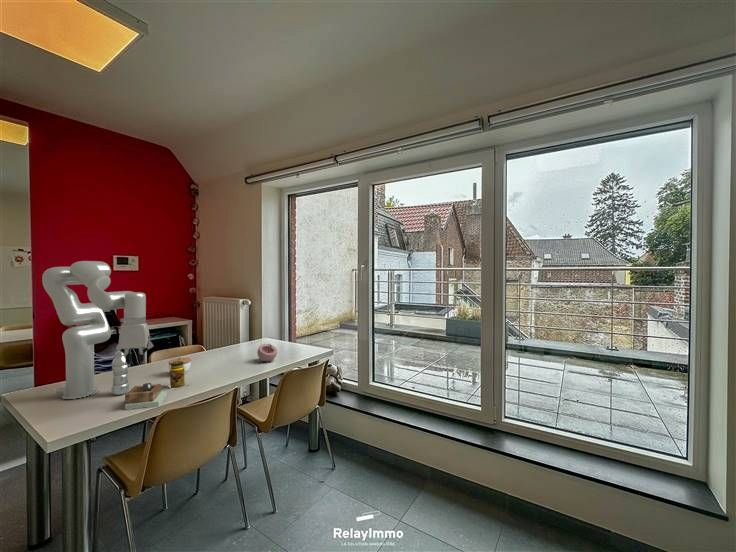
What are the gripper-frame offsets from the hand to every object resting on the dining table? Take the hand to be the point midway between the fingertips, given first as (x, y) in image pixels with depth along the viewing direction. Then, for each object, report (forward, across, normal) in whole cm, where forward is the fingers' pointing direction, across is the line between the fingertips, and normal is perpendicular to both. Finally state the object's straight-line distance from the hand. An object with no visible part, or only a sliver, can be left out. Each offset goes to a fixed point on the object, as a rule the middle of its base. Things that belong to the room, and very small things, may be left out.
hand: (134, 362), depth 136 cm
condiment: (+18, +12, +17) cm, 27 cm away
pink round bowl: (+17, +55, +48) cm, 75 cm away
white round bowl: (+18, +9, +36) cm, 41 cm away
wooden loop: (+15, +4, -1) cm, 16 cm away
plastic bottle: (+18, -10, +13) cm, 24 cm away
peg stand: (+17, +5, -1) cm, 18 cm away
